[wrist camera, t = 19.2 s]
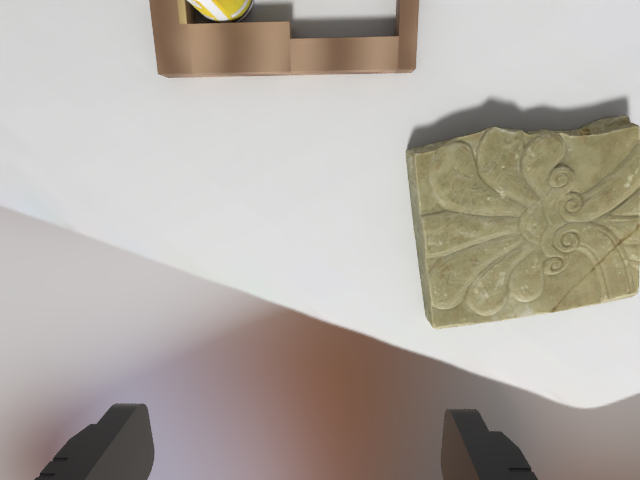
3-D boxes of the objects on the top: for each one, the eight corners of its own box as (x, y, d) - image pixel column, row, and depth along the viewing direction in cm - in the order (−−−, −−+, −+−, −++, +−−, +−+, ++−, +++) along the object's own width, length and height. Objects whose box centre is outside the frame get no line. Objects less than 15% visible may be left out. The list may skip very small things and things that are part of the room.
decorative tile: (620, 287, 39) (648, 302, 35) (424, 318, 40) (433, 335, 37) (622, 98, 34) (655, 94, 30) (400, 143, 36) (407, 144, 32)
